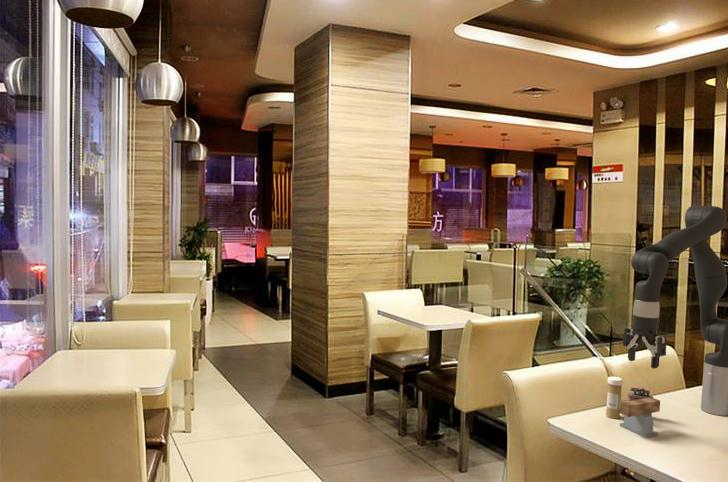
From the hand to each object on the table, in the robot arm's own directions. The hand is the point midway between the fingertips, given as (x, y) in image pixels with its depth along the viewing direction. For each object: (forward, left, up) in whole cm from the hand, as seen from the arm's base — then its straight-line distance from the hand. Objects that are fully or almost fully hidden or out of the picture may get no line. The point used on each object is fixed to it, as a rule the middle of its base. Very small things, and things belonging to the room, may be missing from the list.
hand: (642, 364), depth 185 cm
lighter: (-11, -9, -22) cm, 26 cm away
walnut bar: (0, 0, -16) cm, 16 cm away
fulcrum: (0, 0, -22) cm, 22 cm away
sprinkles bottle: (-2, -12, -22) cm, 25 cm away
